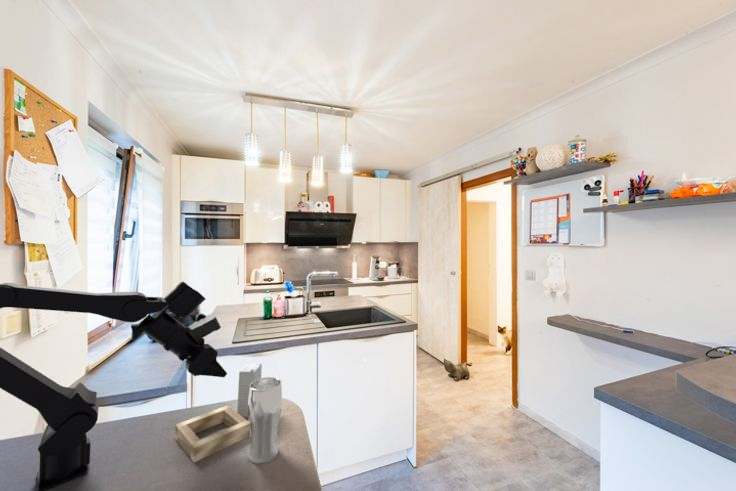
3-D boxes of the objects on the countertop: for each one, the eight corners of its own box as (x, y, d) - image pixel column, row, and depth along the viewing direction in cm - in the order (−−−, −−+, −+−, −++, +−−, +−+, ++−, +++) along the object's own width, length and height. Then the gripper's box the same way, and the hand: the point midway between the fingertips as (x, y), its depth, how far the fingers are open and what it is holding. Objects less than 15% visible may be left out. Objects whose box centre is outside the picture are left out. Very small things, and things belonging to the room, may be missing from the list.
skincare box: (244, 406, 83) (246, 362, 84) (261, 406, 83) (262, 362, 84) (236, 418, 77) (237, 371, 77) (253, 418, 77) (255, 371, 78)
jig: (194, 462, 61) (194, 447, 61) (174, 437, 69) (175, 424, 69) (249, 435, 70) (250, 423, 70) (227, 416, 78) (227, 405, 78)
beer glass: (270, 467, 60) (272, 392, 60) (239, 462, 61) (241, 388, 62) (286, 445, 67) (288, 378, 67) (258, 441, 68) (260, 375, 68)
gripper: (208, 311, 65) (257, 352, 72) (190, 300, 79) (233, 334, 86) (163, 355, 60) (221, 394, 67) (153, 335, 74) (202, 368, 81)
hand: (220, 369), depth 76 cm, fingers open, 9 cm apart
